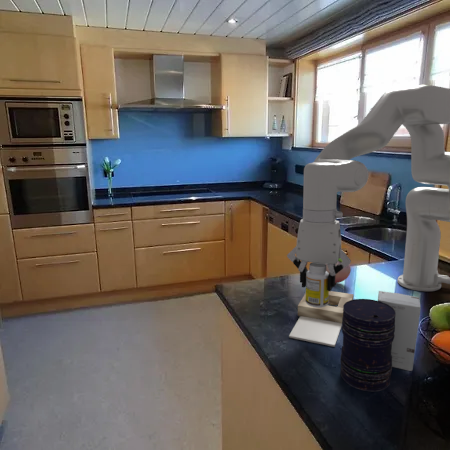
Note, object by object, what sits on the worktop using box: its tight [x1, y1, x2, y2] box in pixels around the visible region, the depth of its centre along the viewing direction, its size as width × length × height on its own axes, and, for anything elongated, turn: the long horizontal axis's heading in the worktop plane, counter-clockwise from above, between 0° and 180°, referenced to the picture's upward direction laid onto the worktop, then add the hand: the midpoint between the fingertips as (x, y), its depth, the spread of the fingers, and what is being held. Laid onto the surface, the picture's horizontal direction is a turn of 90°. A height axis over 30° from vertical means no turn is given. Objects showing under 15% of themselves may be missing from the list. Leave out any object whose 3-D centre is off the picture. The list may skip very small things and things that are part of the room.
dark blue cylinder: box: [340, 298, 396, 392], centre depth 75 cm, size 10×10×15 cm
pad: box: [288, 316, 343, 348], centre depth 94 cm, size 11×11×1 cm
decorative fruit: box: [326, 258, 352, 284], centre depth 122 cm, size 9×8×10 cm
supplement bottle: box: [305, 262, 329, 308], centre depth 91 cm, size 6×6×10 cm
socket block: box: [297, 290, 355, 323], centre depth 105 cm, size 13×13×3 cm
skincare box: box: [377, 290, 421, 372], centre depth 80 cm, size 8×6×15 cm
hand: (317, 286), depth 91 cm, fingers closed on supplement bottle, 5 cm apart
